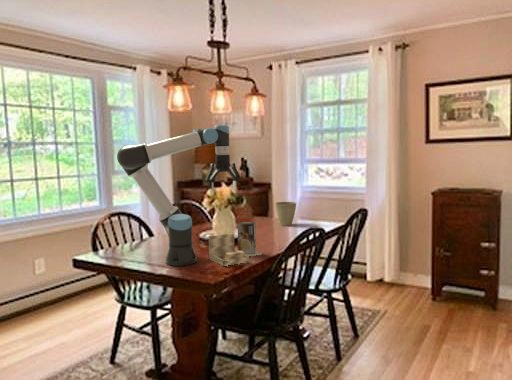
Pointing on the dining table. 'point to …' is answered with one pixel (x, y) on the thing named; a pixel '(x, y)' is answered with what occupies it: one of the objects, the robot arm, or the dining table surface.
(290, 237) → the dining table surface
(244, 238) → the coffee box
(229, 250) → the rack
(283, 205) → the plant pot
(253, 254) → the felt mat
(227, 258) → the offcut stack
